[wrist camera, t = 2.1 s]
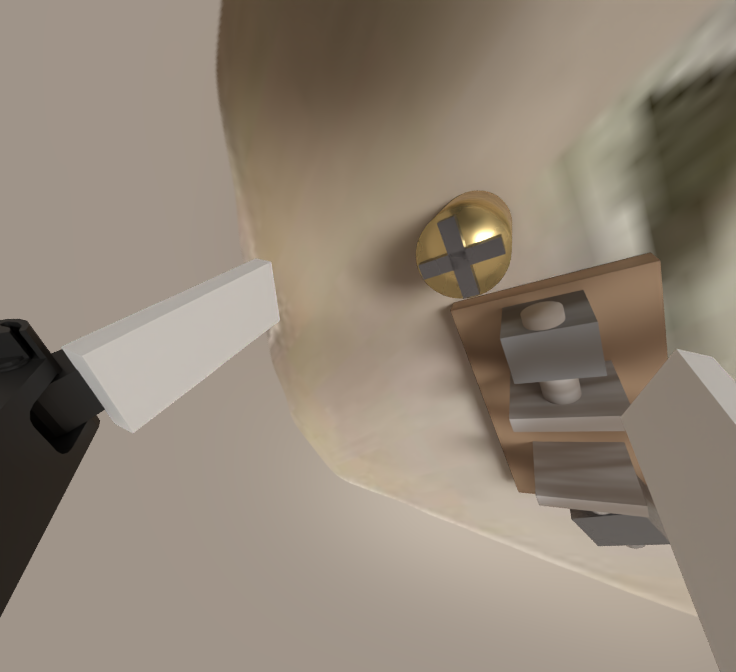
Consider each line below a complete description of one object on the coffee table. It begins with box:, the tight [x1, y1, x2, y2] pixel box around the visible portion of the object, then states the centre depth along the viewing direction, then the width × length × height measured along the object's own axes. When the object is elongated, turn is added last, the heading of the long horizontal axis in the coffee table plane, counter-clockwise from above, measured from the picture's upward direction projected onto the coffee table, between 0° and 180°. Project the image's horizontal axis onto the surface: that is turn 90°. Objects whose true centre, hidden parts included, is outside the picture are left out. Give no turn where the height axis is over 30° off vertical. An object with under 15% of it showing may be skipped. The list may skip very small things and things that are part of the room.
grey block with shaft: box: [570, 475, 670, 548], centre depth 24 cm, size 6×5×4 cm
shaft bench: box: [451, 253, 668, 517], centre depth 22 cm, size 22×12×7 cm, turn 27°
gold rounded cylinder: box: [416, 191, 512, 299], centre depth 18 cm, size 5×5×7 cm
